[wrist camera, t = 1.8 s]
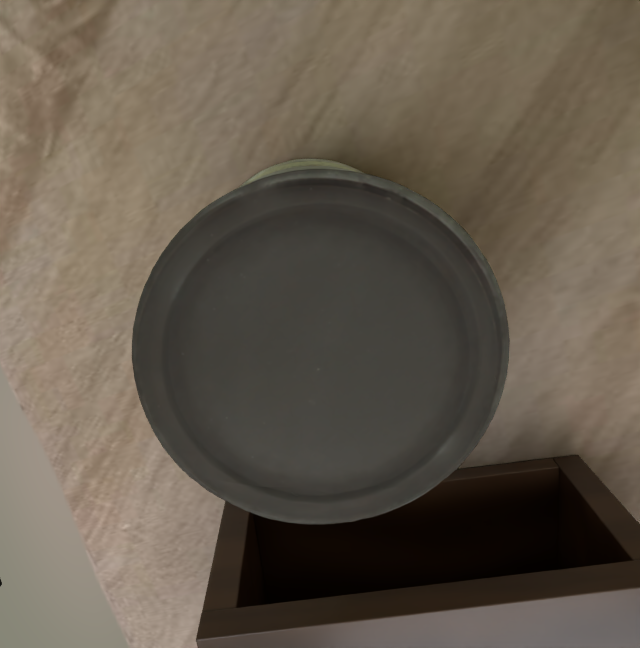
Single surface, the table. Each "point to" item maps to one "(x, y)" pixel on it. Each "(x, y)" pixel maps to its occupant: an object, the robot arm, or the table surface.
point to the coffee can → (320, 345)
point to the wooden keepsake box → (438, 569)
